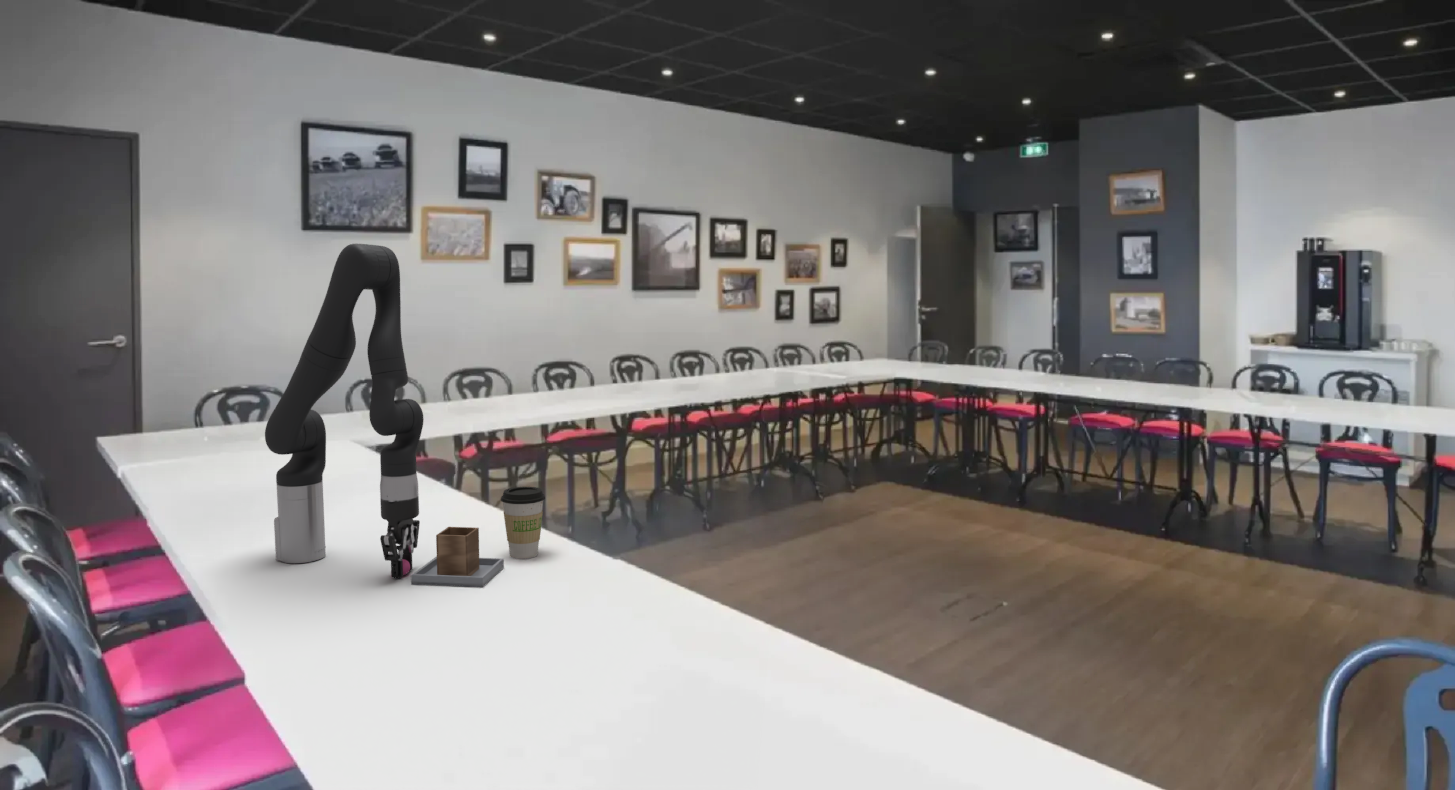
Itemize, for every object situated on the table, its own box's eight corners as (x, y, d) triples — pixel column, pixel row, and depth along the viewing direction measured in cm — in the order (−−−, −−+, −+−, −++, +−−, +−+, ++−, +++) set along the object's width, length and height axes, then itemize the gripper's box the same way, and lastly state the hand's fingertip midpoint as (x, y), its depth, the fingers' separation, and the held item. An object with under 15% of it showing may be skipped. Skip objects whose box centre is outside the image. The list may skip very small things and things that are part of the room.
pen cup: (437, 577, 183) (436, 535, 182) (449, 567, 190) (448, 526, 189) (468, 578, 183) (467, 536, 182) (479, 568, 189) (478, 527, 188)
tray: (411, 584, 181) (411, 574, 180) (437, 565, 193) (436, 556, 193) (482, 587, 179) (482, 577, 179) (503, 567, 192) (503, 558, 192)
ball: (390, 577, 185) (390, 561, 184) (397, 572, 188) (397, 556, 188) (406, 577, 185) (405, 562, 184) (413, 572, 188) (412, 557, 187)
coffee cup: (535, 562, 196) (534, 496, 194) (494, 559, 198) (492, 494, 196) (552, 550, 205) (551, 487, 204) (513, 547, 207) (512, 484, 206)
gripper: (397, 486, 192) (399, 563, 194) (365, 502, 178) (368, 584, 180) (430, 487, 191) (433, 564, 193) (401, 503, 177) (404, 586, 179)
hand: (402, 573), depth 186 cm, fingers open, 4 cm apart
